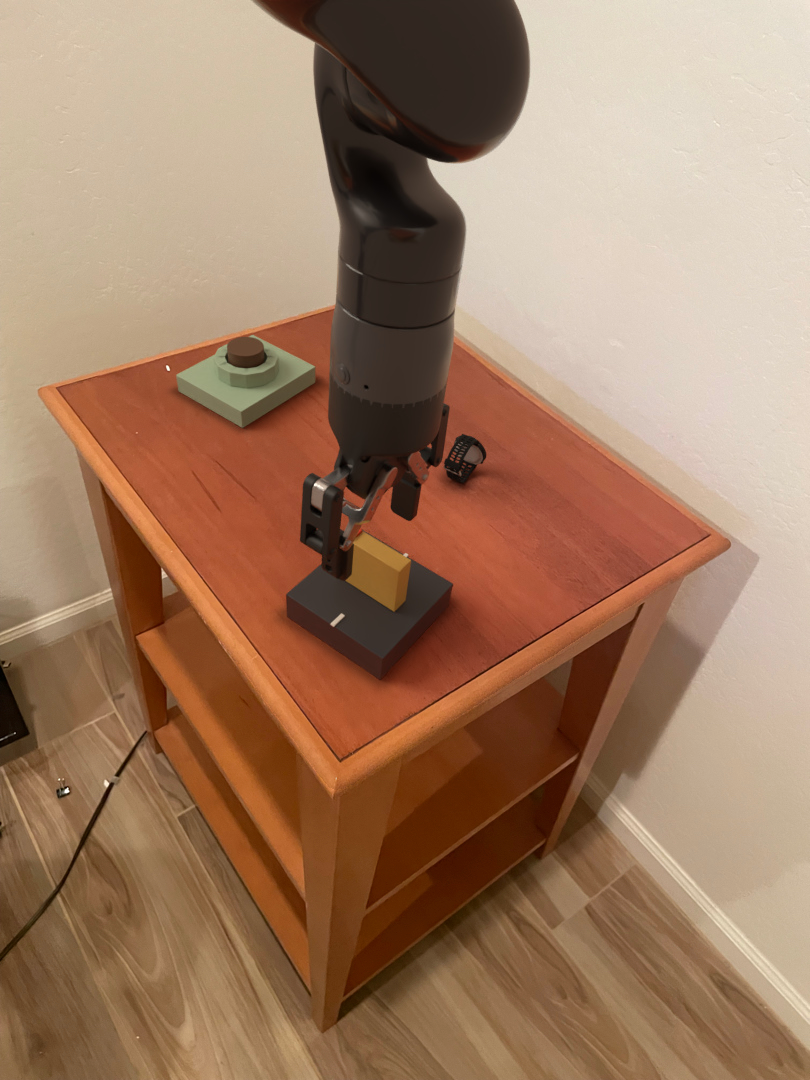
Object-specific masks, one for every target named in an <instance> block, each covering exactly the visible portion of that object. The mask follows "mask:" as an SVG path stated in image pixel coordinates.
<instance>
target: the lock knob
mask: <svg viewBox="0 0 810 1080" xmlns="http://www.w3.org/2000/svg"><path fill="white" fill-rule="evenodd" d="M361 529H362V528H360V530H359V532H358V534H357V536H356V538H355V540H354V542H353V544H354V552H353V565H352V575H351V576H350V577H349V578H348V579H346V580H345V581H347V582H348V583H350V584H351V585H353V586H354V587H356V588H358V589H359V590H361V591H362V592H364V593H365V594H367V595H369V596H370V597H372V598H373V599H375V600H376V601H378V602H379V603H381V604H383V605H384V606H386V607H387V608H389V609H390V610H392V611H394V612H395V611H396V610H397V609H398V608H399V607H400V606H401V605H402V604H403V603H404V602H405V600H406V594H407V587H408V580H409V573H410V566H411V560H410V559H408V558H407V557H405V556H403V555H402V554H403V553H402V554H400V553H398V552H397V551H398V550H397V551H395V550H393V549H392V548H393V547H392V548H390V547H388V546H387V545H388V544H387V545H385V544H383V543H382V542H383V541H382V542H380V541H378V540H377V539H378V538H377V539H375V538H373V537H372V536H373V535H372V536H370V535H371V534H370V535H368V534H367V533H368V532H367V533H365V532H366V531H365V532H363V531H362V530H363V529H362V530H361Z"/></svg>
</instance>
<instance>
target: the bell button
mask: <svg viewBox="0 0 810 1080" xmlns="http://www.w3.org/2000/svg"><path fill="white" fill-rule="evenodd" d="M226 344H227V353H228V362H229V363H230V364H231V365H233V366H234V367H238V368H245V369H248V368H254V367H258V366H260V365H262V364H263V363H264V360H265V358H264V345H263V343H262V342H261V341H260V340H258V339H256V338H252V337H249V336H239V337H235V338H233V339H231V340H230V341H228V343H226Z"/></svg>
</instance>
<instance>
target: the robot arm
mask: <svg viewBox="0 0 810 1080" xmlns="http://www.w3.org/2000/svg"><path fill="white" fill-rule="evenodd" d="M250 1H251V2H252V3H253V4H254V5H255V6H256V7H258V8H259V9H260V10H261V11H262V12H264V13H265V14H266V15H268V16H269V17H270V18H272V19H273V20H275V21H276V22H278V23H279V24H281V25H282V26H283V27H285V28H287V29H289V30H291V31H292V32H294V33H297V34H298V35H300V36H302V37H303V38H306V39H307V40H310V41H311V42H312V43H314V44H313V45H314V47H313V54H312V55H313V57H312V58H313V60H312V61H313V62H312V74H313V75H312V77H313V89H314V99H315V105H316V113H317V118H318V124H319V130H320V135H321V141H322V146H323V152H324V156H325V162H326V169H327V173H328V179H329V184H330V188H331V192H332V193H331V194H332V196H333V200H334V204H335V208H336V213H337V217H338V225H339V231H338V232H339V233H338V247H337V264H336V265H337V266H336V291H335V292H336V294H335V305H334V308H333V309H334V310H333V315H332V321H331V326H330V327H331V328H330V339H329V340H330V343H329V345H330V346H329V373H328V374H329V375H328V376H329V378H328V405H327V406H328V407H327V420H328V424H329V427H330V429H331V431H332V434H333V435H334V437H335V439H336V442H337V445H338V447H339V448H338V454H337V456H336V459H335V461H334V465H333V470H332V471H331V472H330V473H327V474H326V475H325V476H324V477H321V476H319V475H318V474H316V473H314V472H311V473H309V474H308V475H307V476H306V477H305V478H304V480H303V483H302V495H301V514H300V530H299V531H300V533H299V542H300V543H301V544H302V545H304V546H306V547H308V548H309V549H311V550H312V551H314V552H316V553H317V554H319V555H320V556H321V564H320V565H321V567H322V569H323V570H324V571H326V572H327V573H329V574H330V575H332V576H333V577H335V578H337V579H340V580H342V581H345V580H346V579H348V578H349V577H350V576H351V575H352V565H353V552H354V544H353V542H354V540H355V538H356V536H357V534H358V532H359V530H360V529H362V528H361V527H362V526H363V524H368V523H371V521H372V520H373V517H374V515H375V513H376V511H377V509H378V507H379V505H380V502H381V500H383V496H384V495H385V494H386V493H387V491H388V490H390V489H391V488H392V490H391V499H390V510H391V511H392V513H393V514H395V515H397V516H398V517H400V518H401V519H403V520H406V521H407V522H412V520H414V519H415V518H416V517H417V516H418V510H419V504H420V498H421V491H422V486H423V485H424V484H425V483H426V482H427V481H428V479H429V476H430V470H429V469H430V468H431V466H432V467H433V468H438V467H439V466H440V464H441V463H442V462H443V458H444V451H445V445H446V437H447V431H448V424H449V416H450V411H451V410H450V409H451V407H450V405H448V404H447V403H445V397H446V391H447V386H448V379H449V373H450V367H451V362H452V358H453V357H452V355H453V350H454V342H455V315H456V314H455V313H456V306H457V301H458V294H459V288H460V281H461V275H462V271H463V263H464V256H465V251H466V250H465V249H466V243H467V242H466V241H467V230H468V229H467V220H466V216H465V214H464V211H463V210H462V208H461V206H460V204H458V202H457V201H456V200H455V199H454V197H453V196H452V195H451V194H449V193H448V192H447V190H445V188H444V187H443V186H442V185H441V184H440V183H439V182H438V180H437V179H436V177H435V176H434V174H433V172H432V170H431V167H430V164H429V160H431V161H435V162H438V163H443V164H453V165H454V164H466V163H470V162H473V161H476V160H478V159H481V158H483V157H485V156H487V155H489V154H490V153H491V152H493V151H494V150H496V149H497V148H498V147H499V146H501V144H502V143H504V141H505V140H506V139H507V138H508V137H509V135H510V134H511V132H512V131H513V130H514V128H515V127H516V125H517V123H518V122H519V119H520V118H521V115H522V113H523V111H524V108H525V106H526V105H525V104H526V102H527V98H528V94H529V88H530V80H531V79H530V78H531V50H530V43H529V38H528V33H527V29H526V26H525V22H524V20H523V17H522V14H521V11H520V9H519V6H518V4H517V2H516V0H250ZM429 445H431V447H430V446H429ZM345 489H347V490H349V491H350V492H351V493H352V494H353V495H356V496H357V497H359V498H361V499H363V500H364V503H363V505H362V506H361V507H360V506H358V505H356V504H354V503H353V502H351V501H349V500H347V499H346V498H345ZM342 515H345V516H346V517H348V522H347V524H346V526H345V528H344V530H343V529H342V528H341V525H342Z"/></svg>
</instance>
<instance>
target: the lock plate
mask: <svg viewBox="0 0 810 1080" xmlns="http://www.w3.org/2000/svg"><path fill="white" fill-rule="evenodd" d="M360 529H361V530H362V531H363V532H365V533H367V534H368V535H370V536H372V537H373V538H375V539H377V540H378V541H380V542H382V543H383V544H385V545H387V546H388V547H390V548H392V549H393V550H395V551H397V552H398V553H400V554H402V555H403V556H405V557H407V558H408V559H410V560H411V566H410V573H409V580H408V587H407V594H406V600H405V602H404V603H403V604H402V605H401V606H400V607H399V608H398V609H397V610H396V611H395V612H394V611H392V610H390V609H389V608H387V607H386V606H384V605H383V604H381V603H379V602H378V601H376V600H375V599H373V598H372V597H370V596H369V595H367V594H365V593H364V592H362V591H361V590H359V589H358V588H356V587H354V586H353V585H351V584H350V583H348V582H347V581H342V580H340V579H337V578H335V577H333V576H332V575H330V574H329V573H327V572H326V571H324V570H323V569H322V567H321V564H319V565H318V566H317V567H316V568H314V570H312V571H311V572H310V573H309V574H307V576H305V577H304V578H303V579H302V580H301V581H299V582H298V583H297V584H296V585H295V586H293V587H292V588H291V589H290V590H288V592H287V593H286V594H285V600H286V601H285V603H286V617H287V618H288V619H289V620H291V621H292V622H294V623H295V624H297V625H298V626H300V627H301V628H303V629H304V630H306V631H307V632H308V633H310V634H311V635H313V636H315V637H316V638H318V639H319V640H321V642H323V643H325V644H326V645H328V646H329V647H331V648H332V649H334V650H335V651H336V652H338V653H339V654H341V655H342V656H344V657H345V658H347V659H348V660H350V661H351V662H353V663H354V664H355V665H357V666H358V667H360V668H362V669H363V670H365V671H366V672H367V673H369V674H371V676H373V677H375V678H376V679H378V680H379V681H381V680H382V679H383V678H385V676H386V674H387V673H388V672H389V671H390V670H391V669H392V668H393V667H394V666H395V665H396V664H397V663H398V662H399V660H400V659H401V658H402V657H403V656H404V655H405V654H406V653H407V652H408V651H409V650H410V649H411V647H413V645H414V644H415V643H416V642H417V641H418V640H419V639H420V638H421V637H422V636H423V635H424V633H426V631H427V630H428V629H429V628H430V627H431V626H432V625H433V623H434V622H435V621H436V620H437V619H438V618H439V617H441V615H442V614H443V613H444V611H445V610H447V608H449V606H450V601H451V597H452V591H453V588H454V583H452V582H451V581H450V580H448V579H446V578H445V577H443V576H441V575H439V574H438V573H436V572H434V571H433V570H431V569H429V568H428V567H426V566H424V565H422V564H421V563H419V562H417V561H416V560H414V559H413V558H411V557H410V556H409V555H410V554H409V553H407V552H404V553H402V552H400V551H399V550H398V549H396V548H394V547H392V546H390V545H389V544H387V543H386V542H384V541H382V540H381V539H380V538H377V537H375V536H374V535H372V534H371V533H369V532H367V531H365V530H364V529H362V528H360Z"/></svg>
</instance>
